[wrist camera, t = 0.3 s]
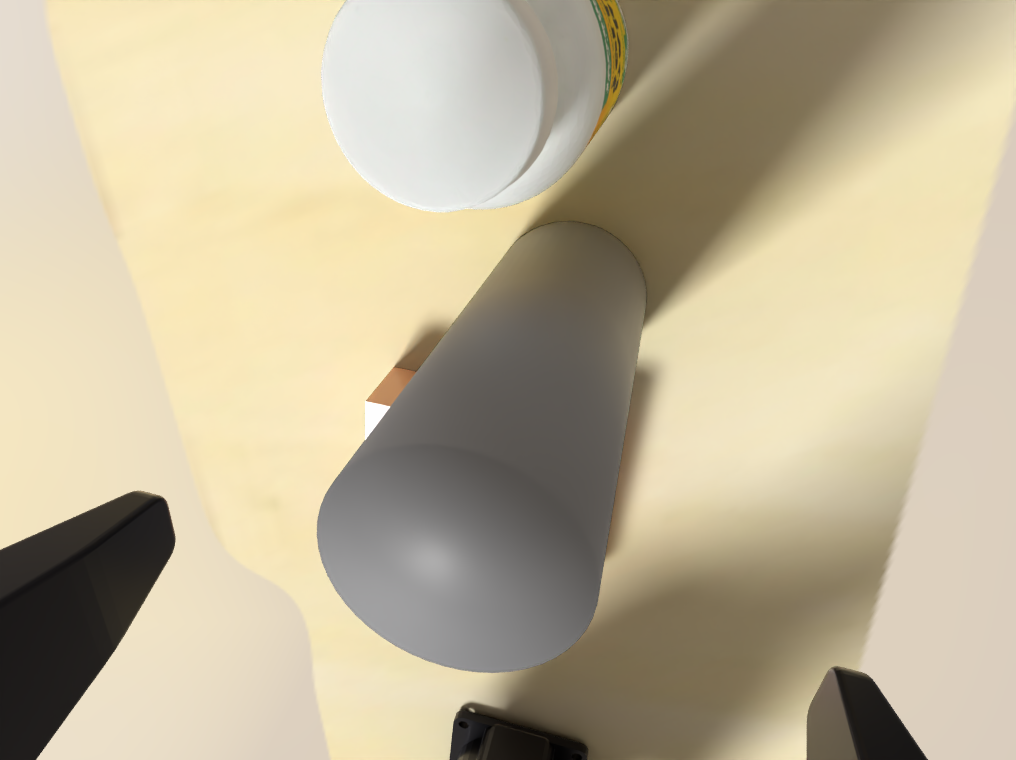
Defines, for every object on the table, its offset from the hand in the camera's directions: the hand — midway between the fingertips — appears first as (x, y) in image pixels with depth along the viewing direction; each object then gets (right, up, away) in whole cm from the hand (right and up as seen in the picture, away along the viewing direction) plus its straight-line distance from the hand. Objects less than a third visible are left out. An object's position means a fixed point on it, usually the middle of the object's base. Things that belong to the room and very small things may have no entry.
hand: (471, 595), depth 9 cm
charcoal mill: (+3, +6, +14) cm, 15 cm away
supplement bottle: (+1, +12, +11) cm, 16 cm away
